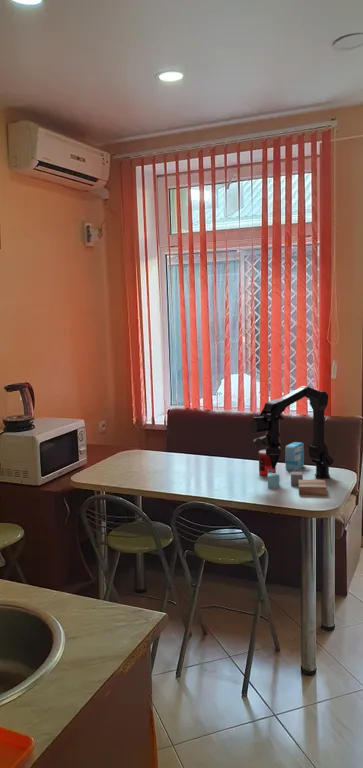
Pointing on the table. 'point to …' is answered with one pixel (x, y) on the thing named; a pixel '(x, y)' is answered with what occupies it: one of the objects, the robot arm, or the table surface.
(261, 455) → the canned food
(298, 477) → the gray cube
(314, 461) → the robot arm
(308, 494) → the walnut base block
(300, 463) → the data package
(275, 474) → the teal cube
